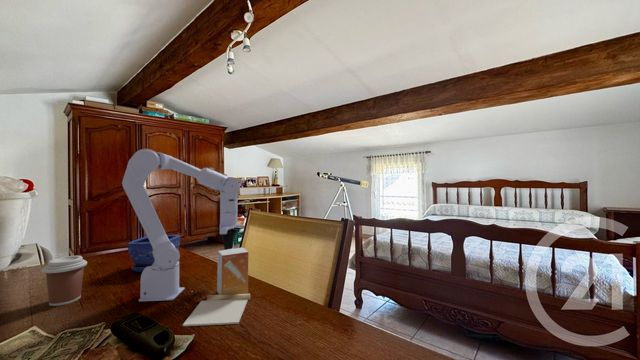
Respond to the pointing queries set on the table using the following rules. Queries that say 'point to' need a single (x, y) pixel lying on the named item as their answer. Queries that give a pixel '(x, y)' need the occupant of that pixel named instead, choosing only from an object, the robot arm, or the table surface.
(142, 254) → the flower pot
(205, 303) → the mat
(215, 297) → the oak strip
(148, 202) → the robot arm
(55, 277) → the coffee cup
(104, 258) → the table surface
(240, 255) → the small box
